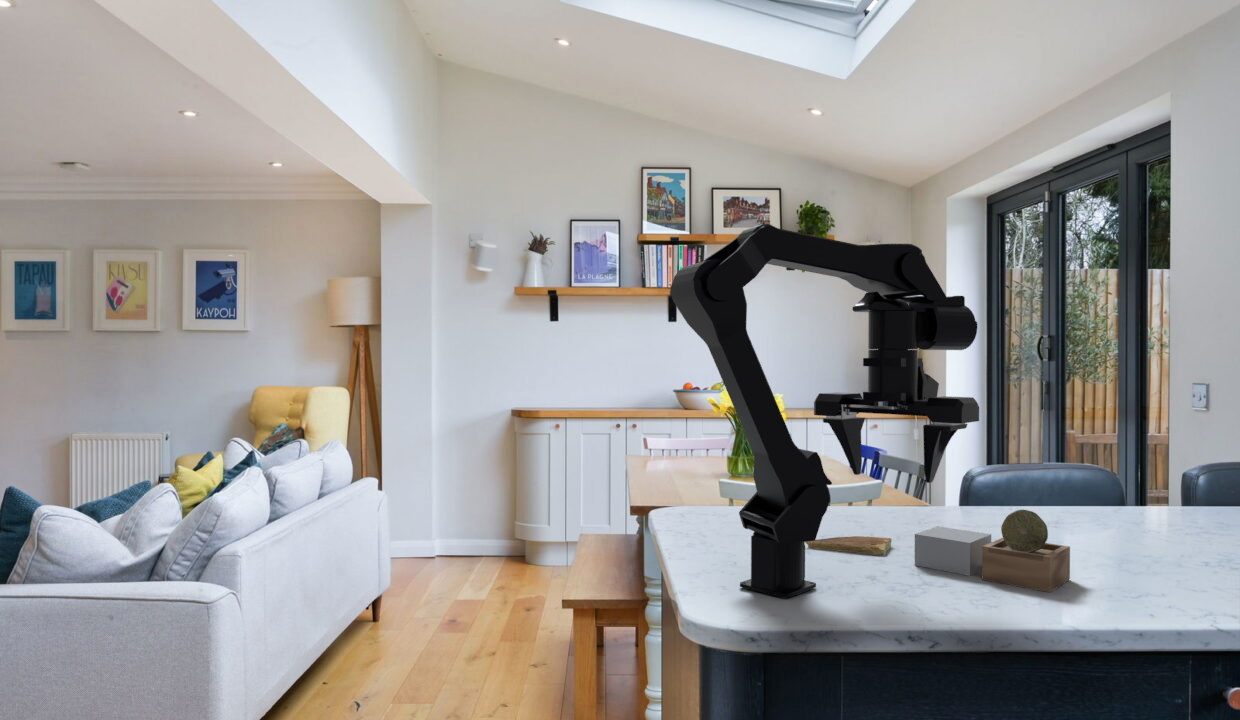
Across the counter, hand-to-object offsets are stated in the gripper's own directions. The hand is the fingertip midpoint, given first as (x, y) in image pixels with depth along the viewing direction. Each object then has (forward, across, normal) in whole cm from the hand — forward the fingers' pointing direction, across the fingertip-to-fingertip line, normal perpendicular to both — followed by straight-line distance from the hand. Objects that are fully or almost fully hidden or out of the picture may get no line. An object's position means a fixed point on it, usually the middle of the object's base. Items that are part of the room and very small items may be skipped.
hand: (892, 478), depth 99 cm
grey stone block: (+12, -3, -11) cm, 17 cm away
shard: (+13, +10, -10) cm, 19 cm away
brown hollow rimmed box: (+12, -12, -10) cm, 20 cm away
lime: (+9, -12, -10) cm, 18 cm away
